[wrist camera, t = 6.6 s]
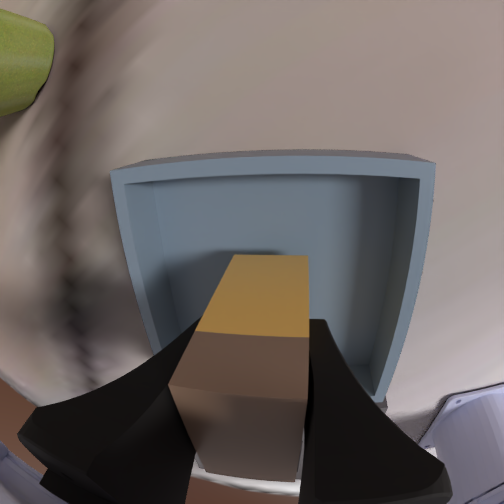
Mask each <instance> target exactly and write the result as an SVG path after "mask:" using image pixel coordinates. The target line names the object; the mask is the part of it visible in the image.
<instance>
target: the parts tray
mask: <svg viewBox="0 0 504 504" xmlns="http://www.w3.org/2000/svg"><path fill="white" fill-rule="evenodd" d="M435 167H436V163H434V162H431V161H428V160H425V159H421V158H418V157H415V156H412V155H408V154H399V153H386V152H371V151H351V150H257V151H237V152H221V153H208V154H197V155H186V156H177V157H168V158H160V159H152V160H145V161H141V162H138V163H134V164H131V165H127V166H124V167H121V168H118V169H114V170H111V171H110V176H111V183H112V189H113V196H114V202H115V207H116V213H117V218H118V223H119V228H120V233H121V238H122V243H123V247H124V252H125V256H126V261H127V265H128V269H129V273H130V277H131V281H132V285H133V288H134V292H135V296H136V299H137V303H138V306H139V310H140V313H141V317H142V320H143V323H144V326H145V330H146V333H147V336H148V339H149V342H150V345H151V348H152V351H153V354H154V355H155V354H157V353H158V352H159V351H161V350H162V349H163V348H165V347H166V346H167V345H168V344H170V343H171V342H172V341H173V340H174V339H176V338H177V337H178V336H179V335H180V334H182V333H183V332H184V331H185V330H186V329H187V328H188V327H190V326H191V325H192V324H193V323H194V322H195V321H196V320H198V319H199V318H200V317H201V316H202V315H203V314H204V312H205V310H206V308H207V306H208V304H209V302H210V300H211V298H212V296H213V294H214V293H215V291H216V289H217V287H218V285H219V283H220V281H221V279H222V277H223V275H224V273H225V271H226V269H227V267H228V265H229V263H230V262H231V260H232V258H233V256H234V255H308V267H309V319H325V320H326V321H327V323H328V326H329V329H330V331H331V334H332V336H333V338H334V340H335V342H336V344H337V346H338V348H339V350H340V352H341V354H342V355H343V357H344V359H345V361H346V362H347V364H348V366H349V367H350V369H351V370H352V372H353V374H354V375H355V377H356V378H357V380H358V381H359V382H360V384H361V385H362V387H363V388H364V389H365V391H366V392H367V393H368V394H369V396H370V397H371V398H372V399H373V401H374V402H383V400H384V398H385V395H386V393H387V390H388V387H389V385H390V382H391V380H392V377H393V374H394V371H395V368H396V366H397V363H398V360H399V357H400V354H401V351H402V348H403V344H404V341H405V338H406V335H407V331H408V328H409V324H410V321H411V317H412V313H413V309H414V305H415V301H416V297H417V293H418V289H419V284H420V280H421V275H422V270H423V265H424V260H425V254H426V248H427V242H428V236H429V229H430V222H431V214H432V205H433V195H434V183H435Z"/></svg>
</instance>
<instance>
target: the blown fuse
mask: <svg viewBox="0 0 504 504" xmlns="http://www.w3.org/2000/svg"><path fill="white" fill-rule="evenodd" d="M308 372H309V267H308V255H234V256H233V258H232V260H231V262H230V263H229V265H228V267H227V269H226V271H225V273H224V275H223V277H222V279H221V281H220V283H219V285H218V287H217V289H216V291H215V293H214V294H213V296H212V298H211V300H210V302H209V304H208V306H207V308H206V310H205V312H204V314H203V316H202V318H201V320H200V322H199V324H198V326H197V328H196V330H195V332H194V334H193V336H192V338H191V340H190V342H189V344H188V346H187V348H186V350H185V352H184V354H183V356H182V358H181V360H180V362H179V364H178V366H177V368H176V370H175V372H174V374H173V376H172V378H171V380H170V382H169V384H168V386H169V388H170V391H171V394H172V396H173V399H174V401H175V404H176V406H177V409H178V411H179V414H180V416H181V418H182V421H183V423H184V426H185V428H186V430H187V432H188V435H189V437H190V439H191V441H192V444H193V446H194V448H195V450H196V452H197V454H198V456H199V459H200V461H201V463H202V465H203V467H204V469H205V471H206V472H208V473H214V474H219V475H226V476H232V477H239V478H247V479H256V480H267V481H281V482H295V478H296V473H297V467H298V461H299V455H300V449H301V443H302V436H303V429H304V422H305V415H306V408H307V400H308Z"/></svg>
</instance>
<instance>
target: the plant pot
mask: <svg viewBox="0 0 504 504" xmlns="http://www.w3.org/2000/svg"><path fill="white" fill-rule="evenodd" d="M53 54H54V38H53V35H52V33H51V32H50V31H49V29H48V28H47V27H46V25H45V24H43V23H40V22H37V21H35V20H32V19H29V18H27V17H24V16H21V15H18V14H15V13H12V12H9V11H6V10H3V9H0V117H1V116H5V115H8V114H11V113H14V112H17V111H21V110H23V109H25V108H27V107H28V106H29V105H30V104H31V103H33V101H34V100H35V96H36V94H37V92H38V90H39V89H40V88H41V86H42V85H43V84H44V83H45V81H46V80H47V77H48V75H49V72H50V68H51V65H52V60H53Z"/></svg>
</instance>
